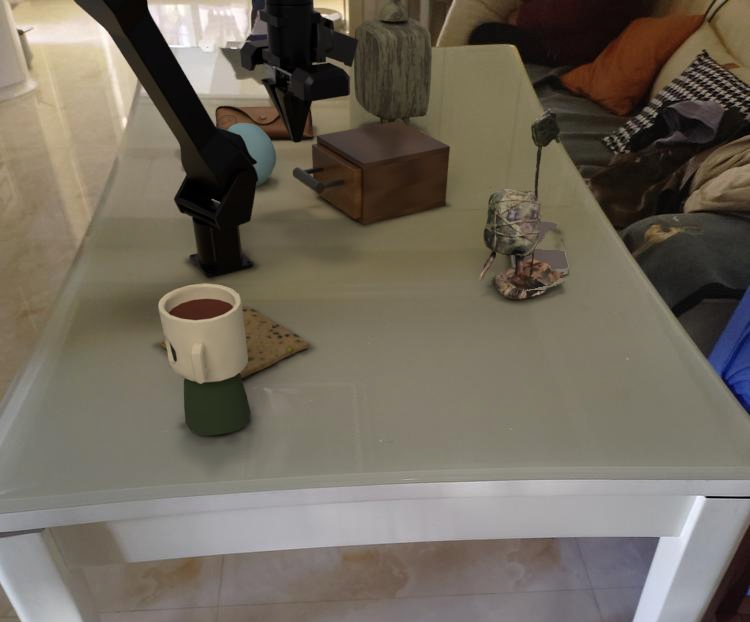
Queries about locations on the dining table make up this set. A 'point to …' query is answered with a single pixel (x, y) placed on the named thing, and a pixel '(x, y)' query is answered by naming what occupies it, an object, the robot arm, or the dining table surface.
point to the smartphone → (547, 251)
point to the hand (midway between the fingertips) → (296, 141)
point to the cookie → (265, 342)
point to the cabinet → (394, 168)
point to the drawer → (333, 179)
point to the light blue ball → (257, 148)
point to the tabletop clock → (393, 65)
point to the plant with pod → (521, 226)
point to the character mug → (208, 355)
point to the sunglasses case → (258, 120)
